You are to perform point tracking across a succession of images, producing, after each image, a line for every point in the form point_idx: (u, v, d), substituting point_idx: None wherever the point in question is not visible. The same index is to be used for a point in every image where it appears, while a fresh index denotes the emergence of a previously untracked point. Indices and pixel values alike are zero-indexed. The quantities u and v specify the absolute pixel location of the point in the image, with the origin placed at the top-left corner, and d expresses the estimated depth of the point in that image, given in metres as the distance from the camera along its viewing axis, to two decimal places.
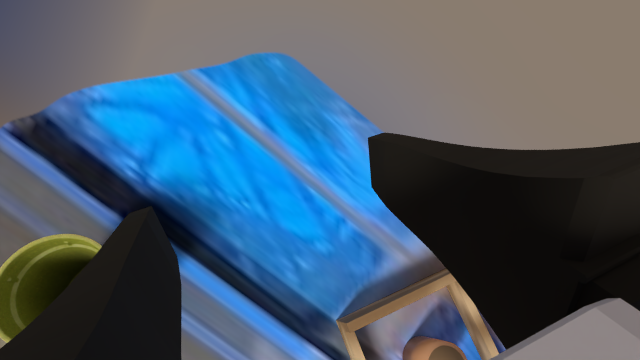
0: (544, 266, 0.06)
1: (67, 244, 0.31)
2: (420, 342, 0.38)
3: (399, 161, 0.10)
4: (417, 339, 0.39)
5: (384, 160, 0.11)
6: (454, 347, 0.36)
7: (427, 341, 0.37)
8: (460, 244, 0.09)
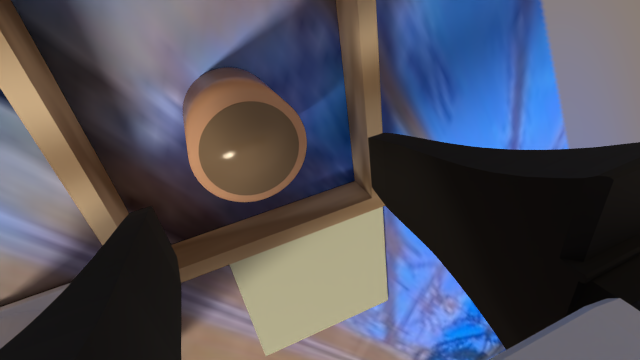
0: (544, 266, 0.06)
1: None
2: (216, 81, 0.15)
3: (399, 161, 0.10)
4: (219, 74, 0.16)
5: (384, 160, 0.11)
6: (284, 110, 0.14)
7: (227, 84, 0.14)
8: (460, 244, 0.09)
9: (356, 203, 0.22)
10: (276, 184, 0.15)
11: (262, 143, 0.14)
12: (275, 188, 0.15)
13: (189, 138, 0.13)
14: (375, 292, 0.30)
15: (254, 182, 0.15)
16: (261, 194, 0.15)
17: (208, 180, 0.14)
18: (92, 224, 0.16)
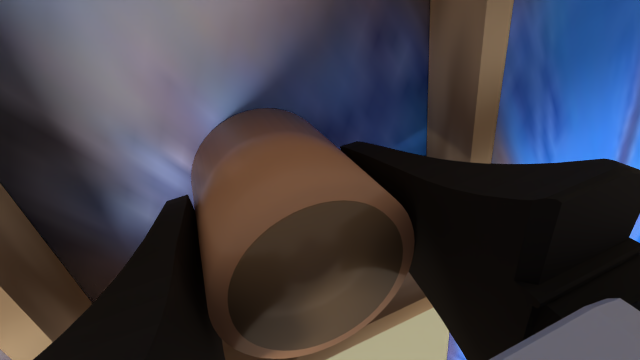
0: (501, 287, 0.06)
1: None
2: (252, 144, 0.09)
3: (368, 172, 0.10)
4: (253, 124, 0.10)
5: None
6: (387, 209, 0.07)
7: (277, 156, 0.08)
8: (426, 259, 0.08)
9: None
10: (356, 321, 0.09)
11: (343, 268, 0.08)
12: (353, 327, 0.09)
13: (210, 278, 0.07)
14: None
15: (321, 325, 0.08)
16: (330, 340, 0.09)
17: (243, 337, 0.08)
18: None
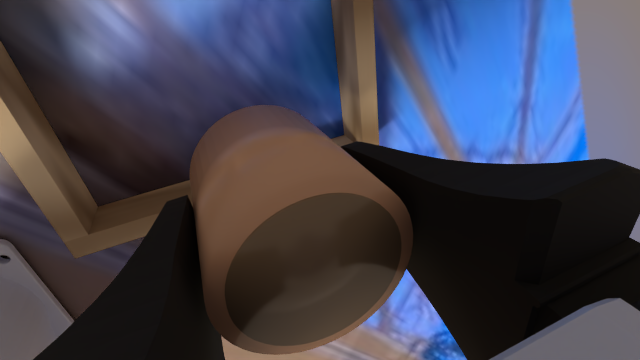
0: (501, 287, 0.06)
1: None
2: (248, 139, 0.09)
3: None
4: (250, 120, 0.10)
5: None
6: (384, 201, 0.07)
7: (274, 151, 0.08)
8: (426, 259, 0.08)
9: None
10: (356, 316, 0.09)
11: (341, 261, 0.08)
12: (353, 322, 0.09)
13: (207, 272, 0.07)
14: None
15: (320, 320, 0.08)
16: None
17: (241, 332, 0.08)
18: (7, 155, 0.13)
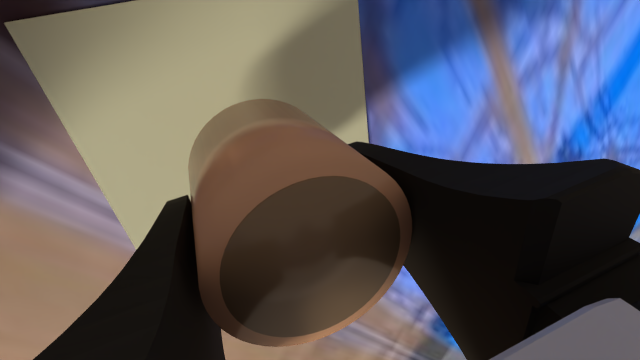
0: (501, 287, 0.06)
1: None
2: (243, 130, 0.09)
3: None
4: (245, 113, 0.10)
5: None
6: (379, 185, 0.07)
7: (267, 138, 0.08)
8: (426, 259, 0.08)
9: None
10: (357, 306, 0.09)
11: (338, 248, 0.07)
12: (355, 312, 0.09)
13: (201, 260, 0.06)
14: None
15: (320, 310, 0.08)
16: (331, 326, 0.09)
17: (240, 323, 0.07)
18: None
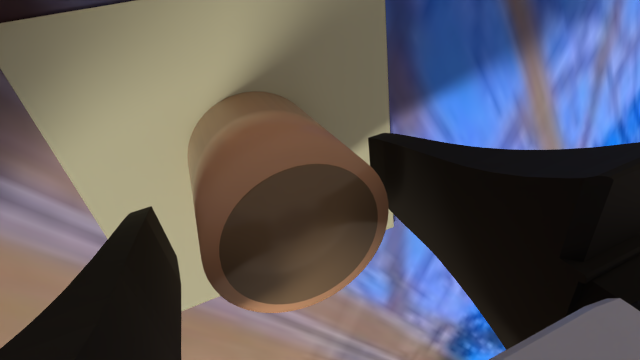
0: (544, 266, 0.06)
1: None
2: (238, 121, 0.09)
3: (399, 161, 0.10)
4: (240, 105, 0.11)
5: (384, 160, 0.11)
6: (359, 172, 0.08)
7: (260, 129, 0.09)
8: (460, 244, 0.09)
9: None
10: (340, 279, 0.10)
11: (322, 226, 0.09)
12: (338, 284, 0.10)
13: (203, 235, 0.07)
14: None
15: (307, 281, 0.09)
16: (317, 296, 0.10)
17: (236, 291, 0.09)
18: None
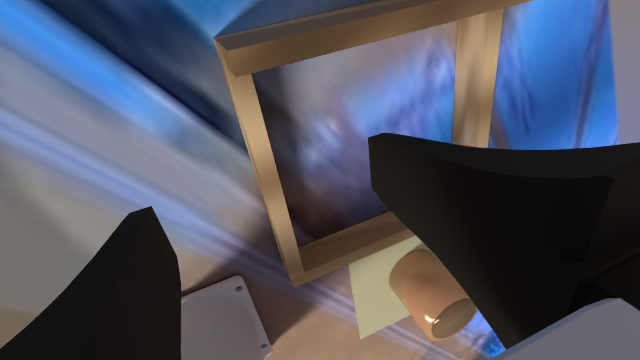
0: (544, 266, 0.06)
1: None
2: (425, 275, 0.27)
3: (399, 161, 0.10)
4: (418, 263, 0.29)
5: (384, 160, 0.11)
6: None
7: (438, 283, 0.27)
8: (460, 244, 0.09)
9: None
10: (460, 328, 0.28)
11: (459, 314, 0.27)
12: (459, 330, 0.28)
13: (430, 321, 0.26)
14: None
15: (451, 330, 0.27)
16: None
17: (432, 335, 0.27)
18: (277, 228, 0.20)
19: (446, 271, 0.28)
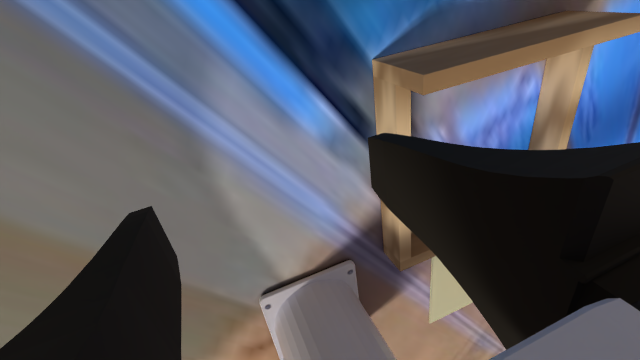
0: (544, 266, 0.06)
1: None
2: None
3: (399, 161, 0.10)
4: None
5: (384, 160, 0.11)
6: None
7: None
8: (460, 244, 0.09)
9: None
10: None
11: None
12: None
13: None
14: None
15: None
16: None
17: None
18: None
19: None
